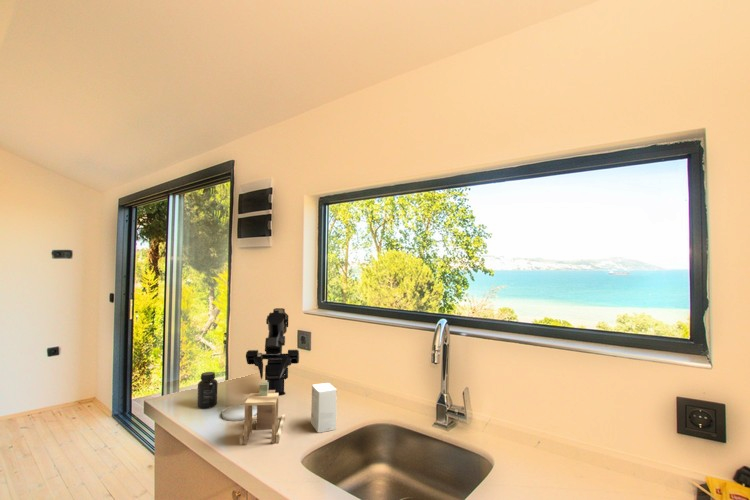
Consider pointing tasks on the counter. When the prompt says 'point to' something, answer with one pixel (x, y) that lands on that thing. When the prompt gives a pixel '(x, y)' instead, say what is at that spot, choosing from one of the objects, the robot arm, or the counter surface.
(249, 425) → the wooden toy stool
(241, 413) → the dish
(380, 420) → the counter surface
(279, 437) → the track
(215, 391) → the supplement bottle
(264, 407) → the walnut block
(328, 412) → the small box
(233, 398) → the counter surface
